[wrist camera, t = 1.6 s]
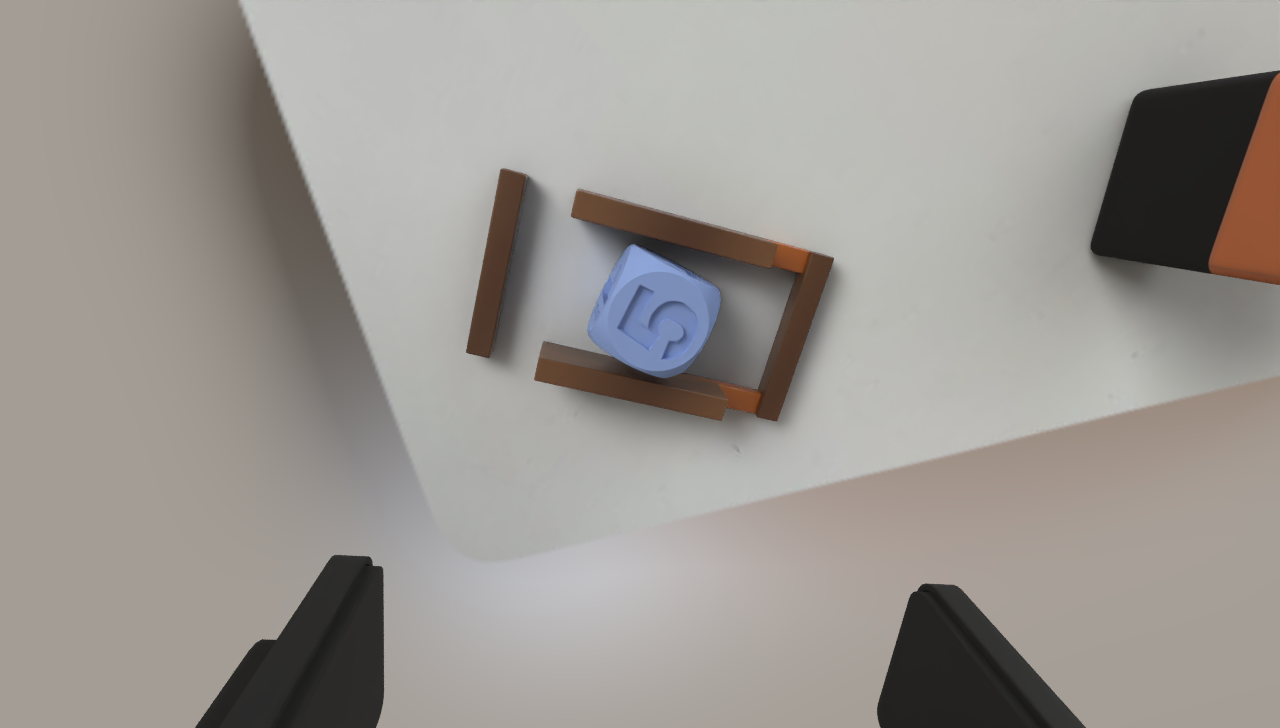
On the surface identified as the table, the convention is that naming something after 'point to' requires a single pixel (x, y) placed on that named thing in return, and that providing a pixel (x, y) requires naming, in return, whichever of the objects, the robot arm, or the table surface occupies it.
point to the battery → (1199, 180)
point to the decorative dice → (654, 313)
